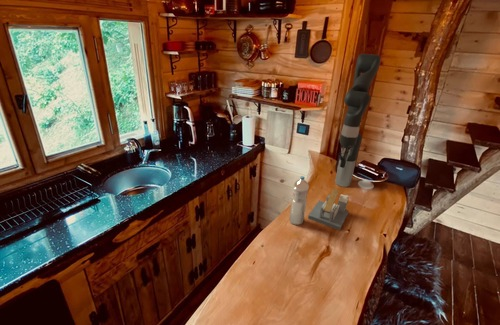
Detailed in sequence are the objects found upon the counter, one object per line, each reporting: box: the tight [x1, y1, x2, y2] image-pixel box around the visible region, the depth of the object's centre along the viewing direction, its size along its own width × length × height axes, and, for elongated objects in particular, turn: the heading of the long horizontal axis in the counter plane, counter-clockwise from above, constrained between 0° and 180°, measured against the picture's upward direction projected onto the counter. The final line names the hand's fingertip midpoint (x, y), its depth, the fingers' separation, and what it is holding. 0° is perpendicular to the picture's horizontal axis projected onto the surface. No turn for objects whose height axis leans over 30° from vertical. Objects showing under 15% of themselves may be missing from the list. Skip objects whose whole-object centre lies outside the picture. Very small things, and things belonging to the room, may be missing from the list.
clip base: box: [307, 194, 350, 231], centre depth 138 cm, size 16×16×8 cm
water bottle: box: [289, 175, 310, 226], centre depth 130 cm, size 7×7×25 cm
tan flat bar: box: [324, 188, 340, 213], centre depth 136 cm, size 14×3×1 cm
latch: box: [338, 193, 350, 204], centre depth 139 cm, size 3×4×3 cm
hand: (342, 166), depth 137 cm, fingers closed
